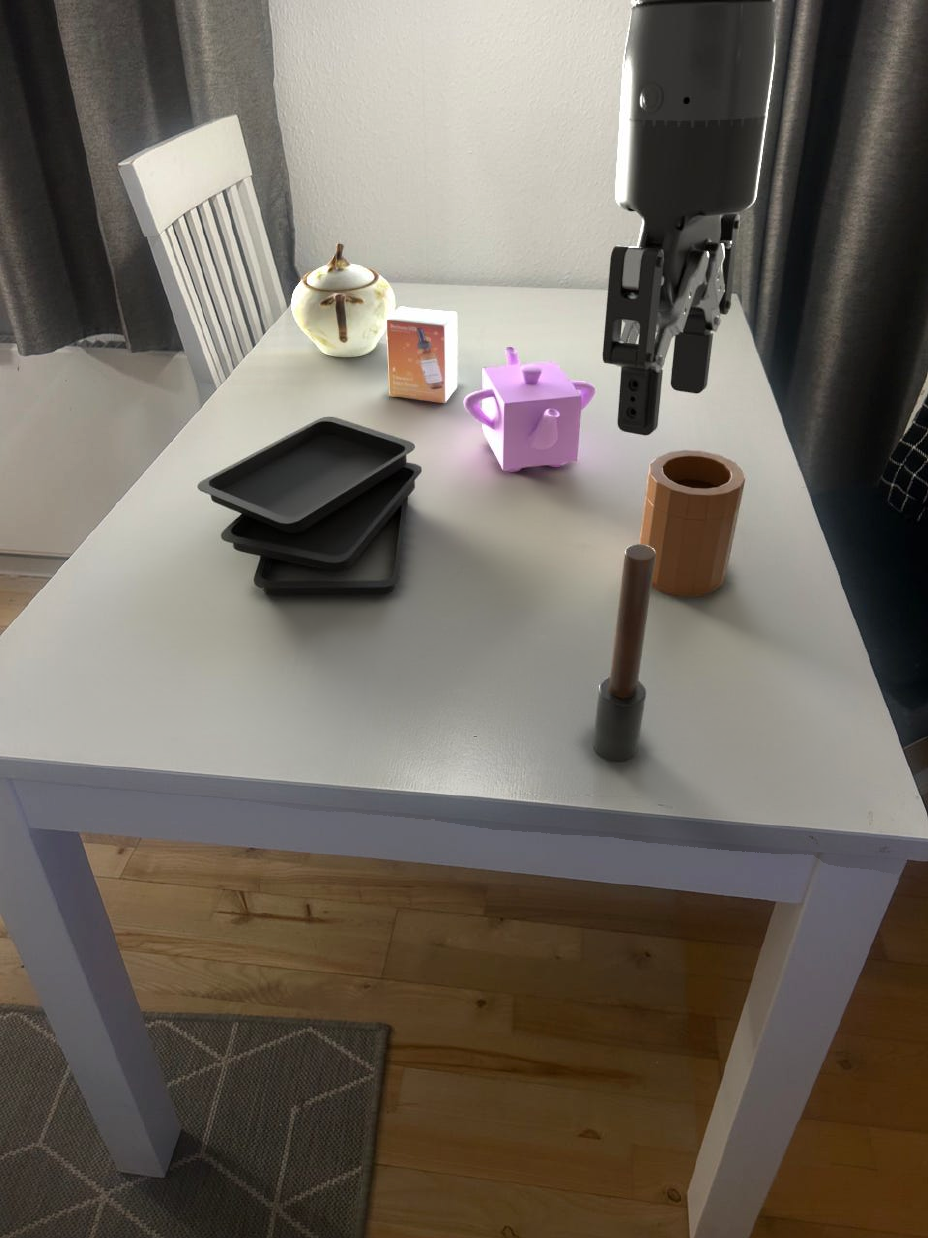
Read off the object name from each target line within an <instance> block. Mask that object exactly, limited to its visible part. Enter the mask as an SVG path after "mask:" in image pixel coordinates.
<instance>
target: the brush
mask: <svg viewBox="0 0 928 1238" xmlns="http://www.w3.org/2000/svg"><path fill="white" fill-rule="evenodd" d="M655 559H656V552H655V550H654V549H653V548H651V547H650V546H647V545H643V544H639V543H637V544H636V543H635V544H631V545H629V546H627V547H626V548H625V550H624V557H623V565H622V575H621V580H620V581H621V583H620V591H619V600H618V607H617V614H616V615H617V616H616V624H615V633H614V641H613V648H612V649H613V650H612V658H611V665H610V666H611V667H610V674H609V676H608V677H606V678H604V679H603V680H601V682H600V683H599V686H598V695H597V703H596V704H597V705H596V711H595V721H594V732H593V740H592V748H593V751H594V752H595V753H596V755H597V756H598V757H600V758H601V759H603V760H605V761H607V762H611V763H626V762H628V761H630V760H632V759H633V758H634V757H635V756H636V755H637V753H638V748H639V744H640V736H641V729H642V723H643V716H644V710H645V703H646V697H647V690H646V687H645V685H644V684H643V683H642V682H641V681H640V680H639V676H640V669H641V663H642V655H643V648H644V643H645V635H646V629H647V621H648V614H649V608H650V602H651V601H650V600H651V594H652V580H653V573H654V566H655Z"/></svg>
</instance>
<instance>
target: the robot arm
mask: <svg viewBox="0 0 928 1238" xmlns="http://www.w3.org/2000/svg"><path fill="white" fill-rule="evenodd" d="M631 4H632V5H633V6H632V7H631V9H630V19H629V26H628V30H627V31H628V32H627V37H626V41H625V48H624V54H623V62H622V77H621V90H620V91H621V92H620V93H621V94H620V107H619V108H620V109H619V110H620V111H619V124H618V125H619V127H618V128H619V129H618V140H617V141H618V142H617V143H618V144H617V158H616V159H617V160H616V174H615V175H616V177H615V192H614V199H615V201H616V204H617V205H618V206H619V207H620V208H622V209H623V210H626V211H628V212H636V213H637V214H638V215H639V216H640V218H641V222H642V224H641V226H640V231H639V235H638V236H639V237H638V241H637V245H636V246H627V245H615V246H614V247H613V248H612V251H611V254H610V260H609V273H608V283H607V284H608V286H607V297H606V308H605V322H604V333H603V347H602V361H603V363H604V364H608V365H615V366H617V367H619V368H620V380H619V381H620V382H619V394H618V395H619V396H618V397H619V398H618V409H617V427H618V429H619V430H620V431H622V432H625V433H628V434H635V435H641V436H649V435H651V434H652V433H654V431H656V430H657V428H658V427H659V426H658V425H659V416H660V405H661V394H662V384H663V383H662V382H663V374H664V373H663V372H664V369H663V367H664V365H665V362H666V358H667V355H668V351H669V348H670V345H671V342H672V339H673V338H674V345H673V354H672V355H673V356H672V365H671V373H670V374H671V375H670V386H671V388H672V389H673V390H674V391H677V392H683V393H688V394H689V393H691V394H700V393H702V392H703V391H704V390H705V389H706V388H707V387H708V380H709V373H710V372H709V371H710V363H711V356H712V347H713V339H714V333H712V332H717V331H718V329H719V327H720V325H721V322H722V317H721V315H728V313H729V311H730V309H731V307H732V293H733V286H734V285H733V284H734V277H735V266H736V257H737V248H738V239H739V231H740V226H741V220H740V219H741V216H740V212H742V211H745V210H747V209H749V208H750V207H752V206H753V204H755V201H756V198H757V195H758V186H759V179H760V173H761V166H762V165H761V164H762V157H763V149H764V142H765V135H766V128H767V120H768V112H769V111H768V110H769V104H770V97H771V90H772V83H773V82H772V81H773V76H774V70H775V69H774V68H775V60H776V59H775V58H776V42H777V40H776V37H777V35H776V32H777V30H776V28H777V27H776V24H777V7H778V3H777V1H775V0H631ZM623 324H624V326H623ZM622 326H623V330H622ZM637 341H638V343H637Z"/></svg>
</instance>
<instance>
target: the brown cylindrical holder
mask: <svg viewBox="0 0 928 1238" xmlns="http://www.w3.org/2000/svg"><path fill="white" fill-rule="evenodd" d="M647 473H648V474H647V482H646V488H645V498H644V504H643V512H642V519H641V527H640V535H639V542H638V544H643V545H647V546H650V547H651V548H653V549H654V550H655V552H656V559H655V566H654V573H653V580H652V587H651V589H654V590H656V591H658V592H660V593H664V594H667V595H672V596H675V597H676V596H677V597H700V596H704V595H708V594H711V593H713V592H715V591H717V590H718V589H719V588H720V587H721V586H722V585H723V584H724V581H725V578H726V575H727V572H728V567H729V562H730V558H731V557H730V556H731V552H732V548H733V547H732V546H733V542H734V539H735V533H736V528H737V523H738V519H739V513H740V508H741V502H742V498H743V494H744V487H745V483H746V475H745V471H744V469H743V468H742V467H741V466H740V465H739V464H738V463H737V462H736V461H734V460H732V459H729V458H727V457H726V456H723V455H720V454H717V453H713V452H709V451H704V450H689V449H683V450H675V451H669V452H666V453H664V454H662V455H659V456H657V457H655V458H654V459H653V460H652V461H651V462H650V464H649V465H648V472H647Z"/></svg>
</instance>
